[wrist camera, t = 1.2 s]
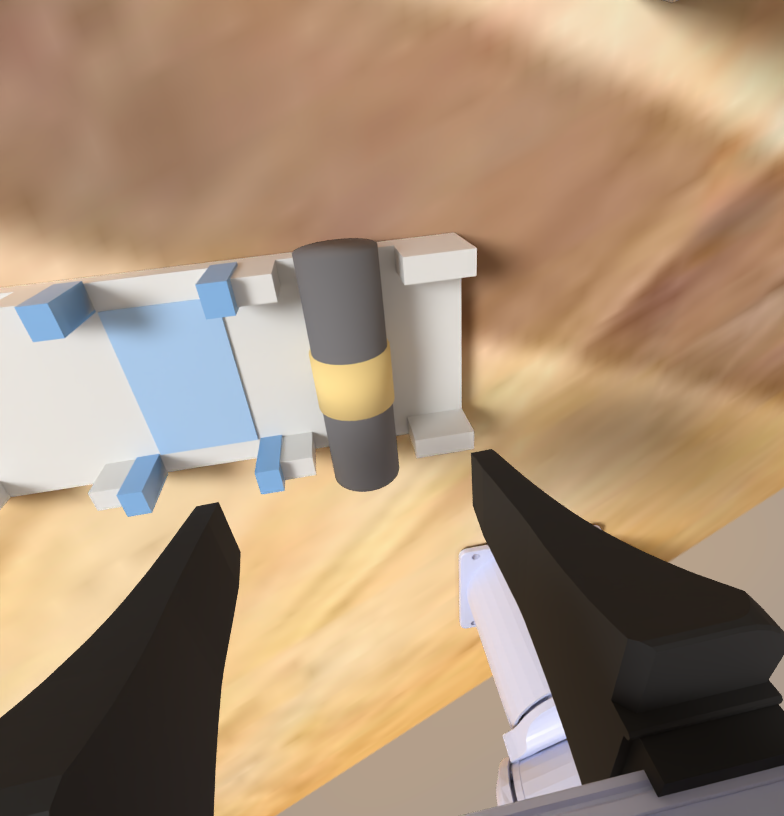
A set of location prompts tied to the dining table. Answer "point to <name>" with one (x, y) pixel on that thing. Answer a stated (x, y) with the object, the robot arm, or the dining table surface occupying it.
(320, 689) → the dining table surface
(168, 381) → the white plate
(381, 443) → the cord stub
